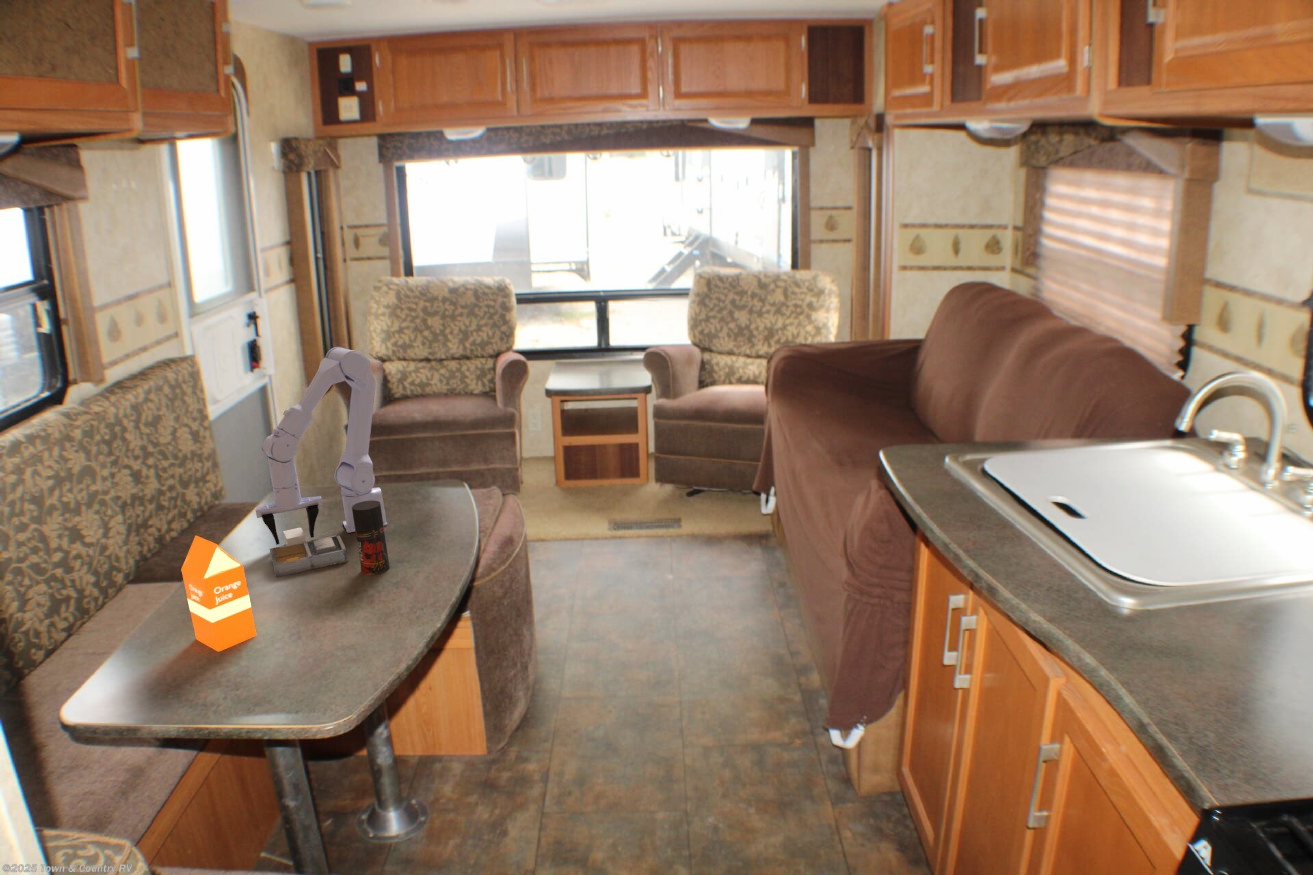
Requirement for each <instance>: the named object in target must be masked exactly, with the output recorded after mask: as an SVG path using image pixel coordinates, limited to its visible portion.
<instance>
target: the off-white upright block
mask: <svg viewBox="0 0 1313 875" xmlns="http://www.w3.org/2000/svg"><path fill="white" fill-rule="evenodd" d="M283 538H284V543H285V546H286V545H291V544H296V543H301V542H305V541H307V540H306V535H305V533H304V531H303V528H302V527H297V528H291V529H287V530H283Z"/></svg>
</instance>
